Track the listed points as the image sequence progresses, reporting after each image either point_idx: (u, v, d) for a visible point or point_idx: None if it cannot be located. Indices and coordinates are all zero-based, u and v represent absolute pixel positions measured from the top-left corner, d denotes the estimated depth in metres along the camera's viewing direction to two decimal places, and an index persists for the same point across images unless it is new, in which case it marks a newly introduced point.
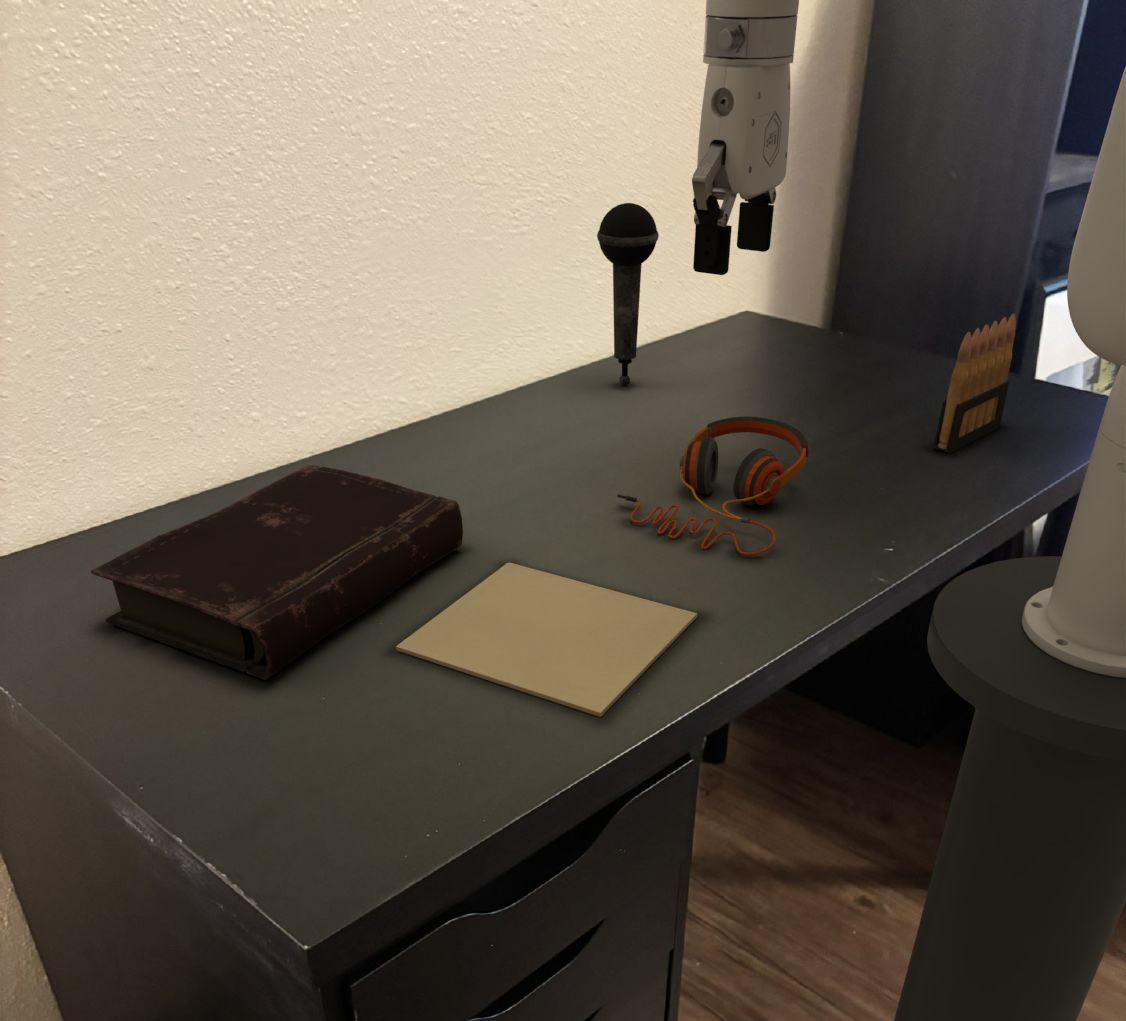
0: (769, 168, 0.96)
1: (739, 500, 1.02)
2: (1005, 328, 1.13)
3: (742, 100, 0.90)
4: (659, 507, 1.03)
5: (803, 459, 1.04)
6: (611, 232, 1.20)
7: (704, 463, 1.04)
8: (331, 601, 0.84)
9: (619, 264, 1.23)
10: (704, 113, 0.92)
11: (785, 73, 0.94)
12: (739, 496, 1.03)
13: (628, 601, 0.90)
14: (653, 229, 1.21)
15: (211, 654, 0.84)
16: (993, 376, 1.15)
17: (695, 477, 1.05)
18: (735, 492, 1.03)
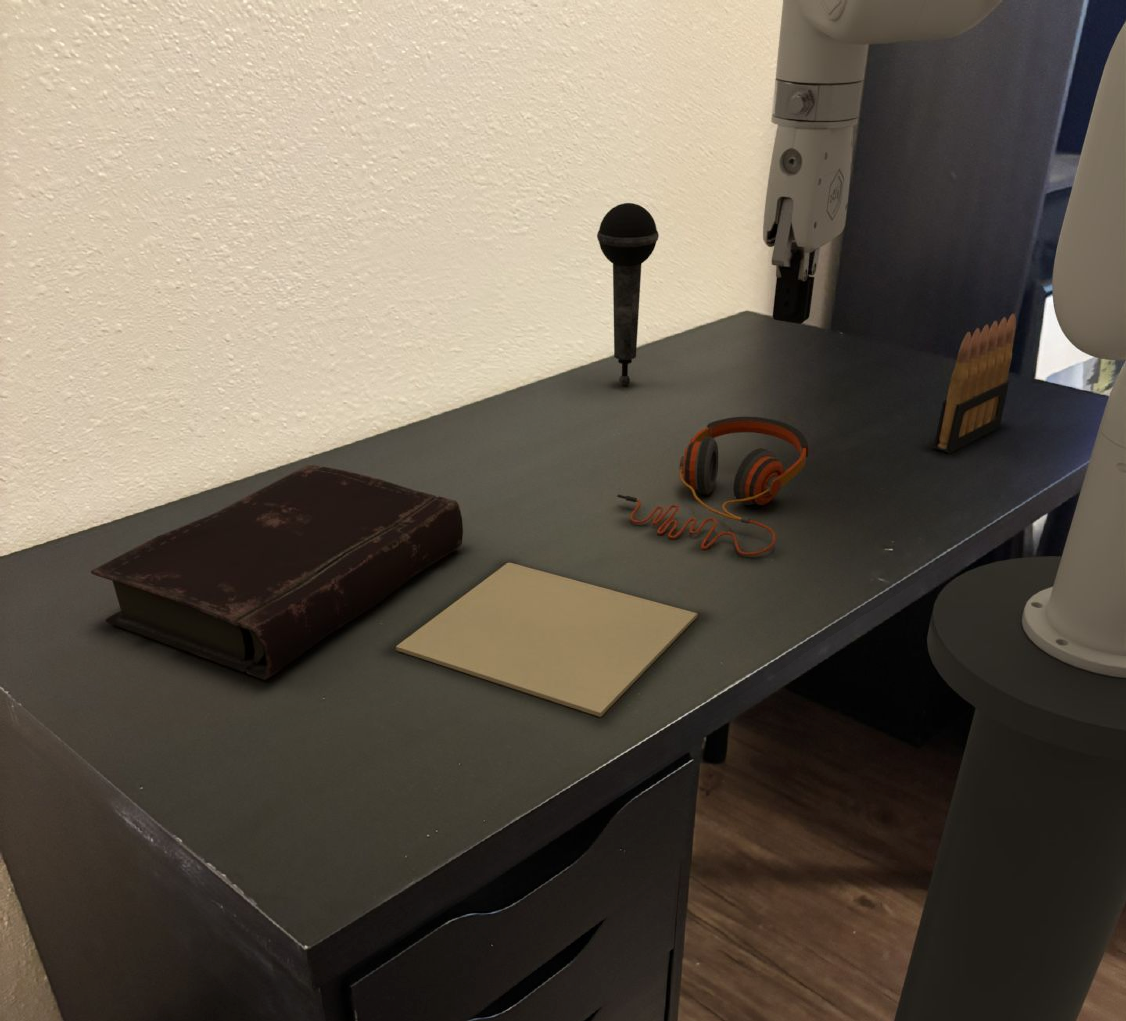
0: (831, 221, 1.01)
1: (739, 500, 1.02)
2: (1005, 328, 1.13)
3: (810, 161, 0.95)
4: (659, 507, 1.03)
5: (803, 459, 1.04)
6: (611, 232, 1.20)
7: (704, 463, 1.04)
8: (331, 601, 0.84)
9: (619, 264, 1.23)
10: (772, 171, 0.97)
11: (849, 132, 0.98)
12: (739, 496, 1.03)
13: (628, 601, 0.90)
14: (653, 229, 1.21)
15: (211, 654, 0.84)
16: (993, 376, 1.15)
17: (695, 477, 1.05)
18: (735, 492, 1.03)
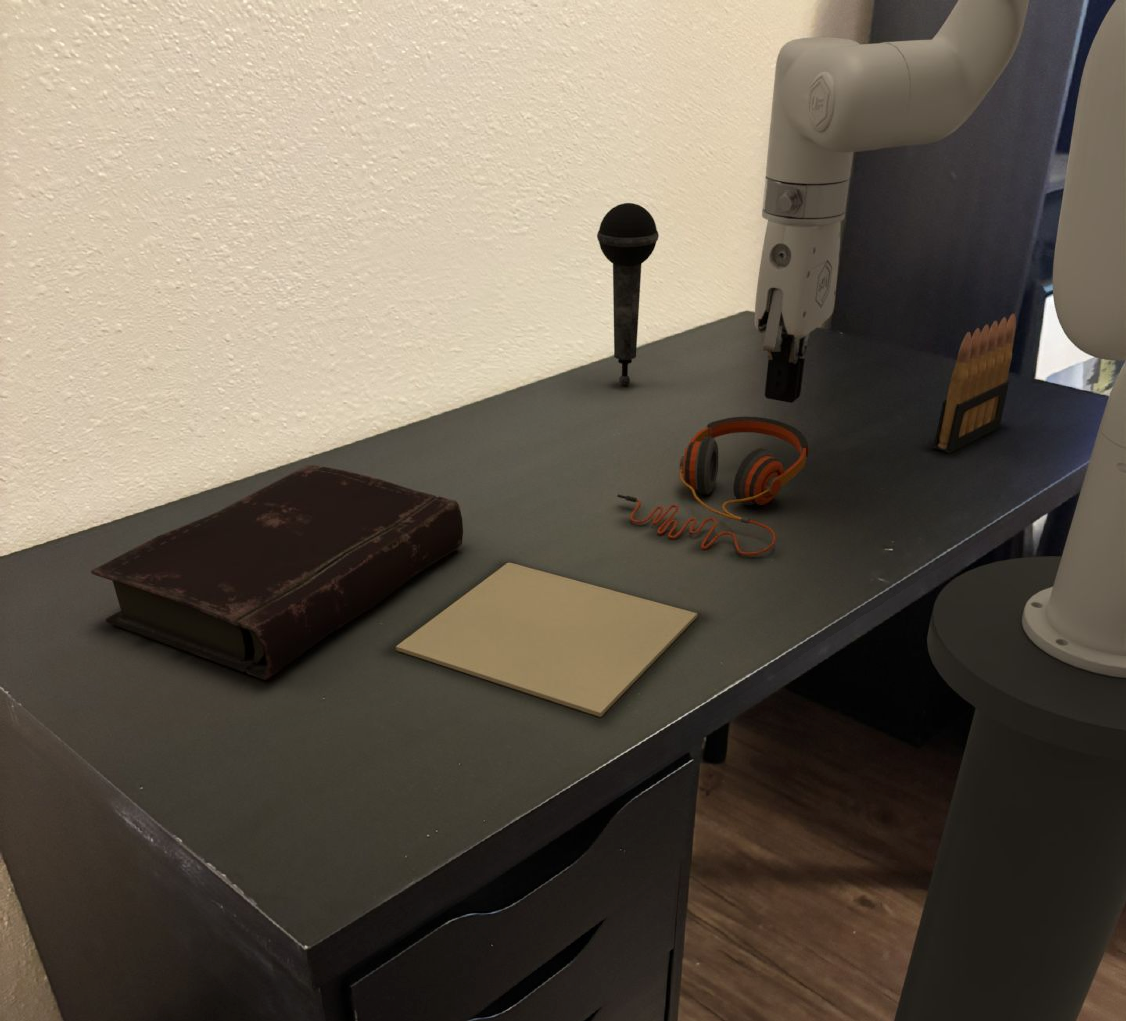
0: (820, 308, 1.05)
1: (739, 500, 1.02)
2: (1005, 328, 1.13)
3: (799, 256, 0.99)
4: (659, 507, 1.03)
5: (803, 459, 1.04)
6: (611, 232, 1.20)
7: (704, 463, 1.04)
8: (331, 601, 0.84)
9: (619, 264, 1.23)
10: (763, 264, 1.01)
11: (837, 225, 1.02)
12: (739, 496, 1.03)
13: (628, 601, 0.90)
14: (653, 229, 1.21)
15: (211, 654, 0.84)
16: (993, 376, 1.15)
17: (695, 477, 1.05)
18: (735, 492, 1.03)
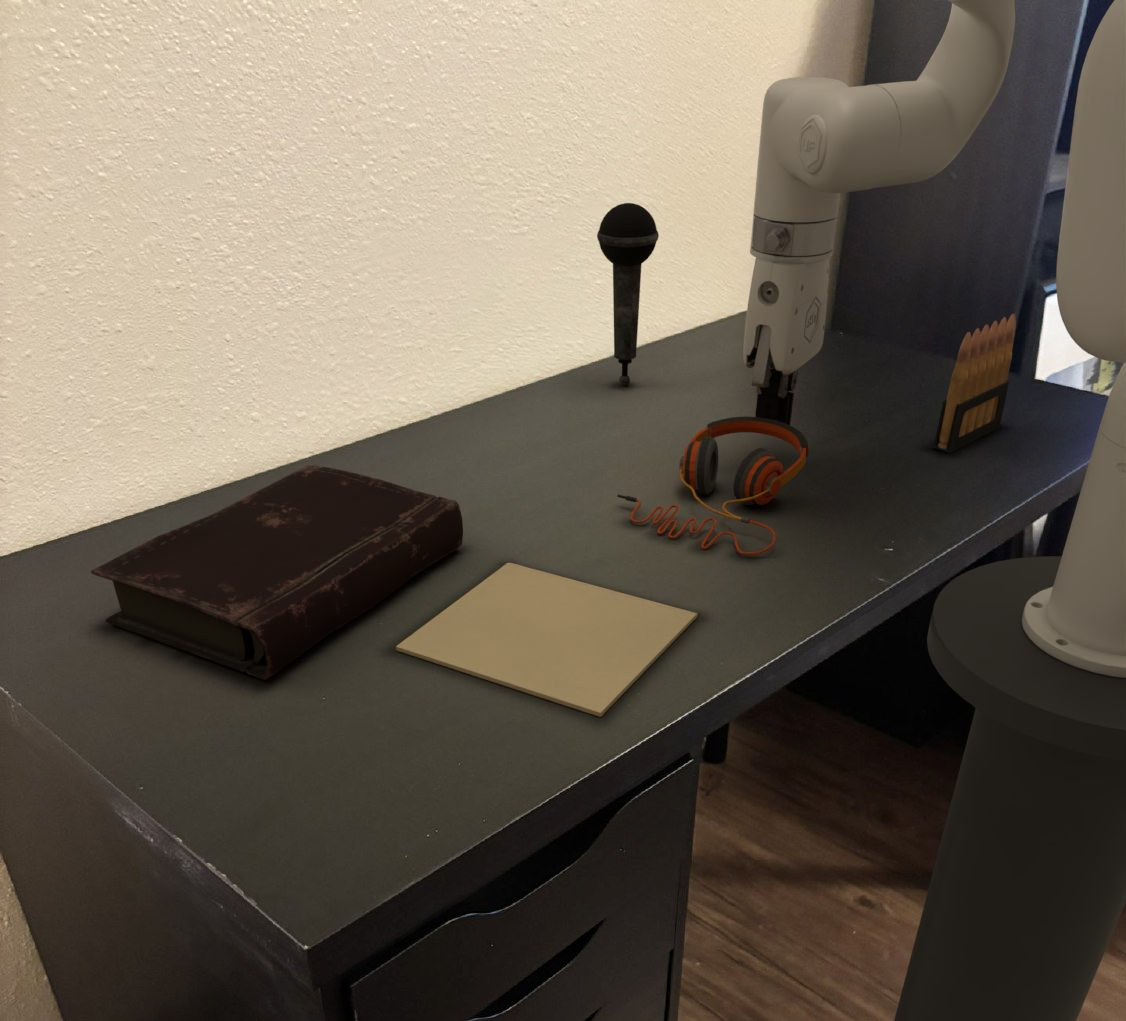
0: (809, 344, 1.05)
1: (739, 500, 1.02)
2: (1005, 328, 1.13)
3: (787, 293, 0.99)
4: (659, 507, 1.03)
5: (803, 459, 1.04)
6: (611, 232, 1.20)
7: (704, 463, 1.04)
8: (331, 601, 0.84)
9: (619, 264, 1.23)
10: (751, 301, 1.01)
11: (825, 262, 1.03)
12: (739, 496, 1.03)
13: (628, 601, 0.90)
14: (653, 229, 1.21)
15: (211, 654, 0.84)
16: (993, 376, 1.15)
17: (695, 477, 1.05)
18: (735, 492, 1.03)
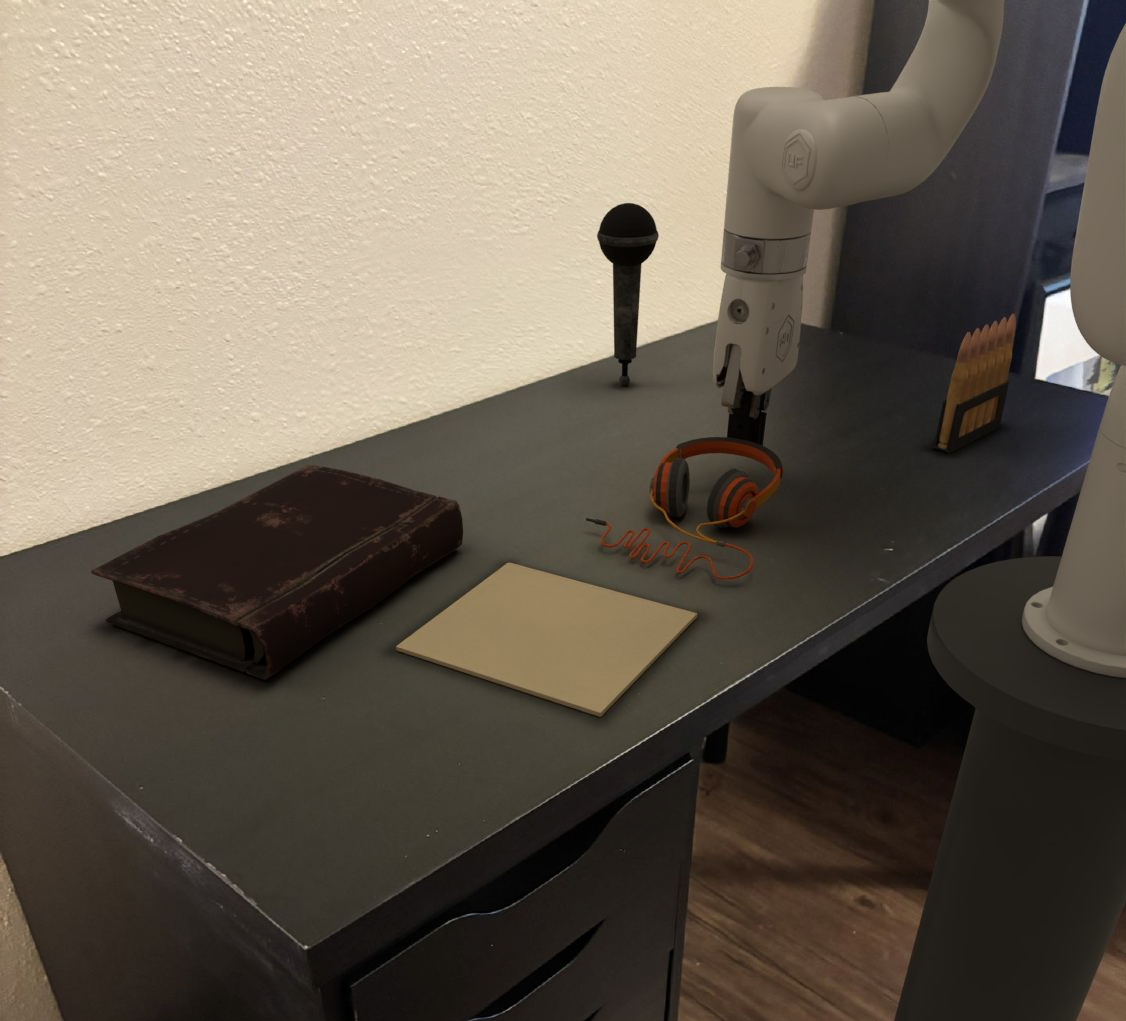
0: (781, 363, 1.01)
1: (713, 523, 0.98)
2: (1005, 328, 1.13)
3: (757, 312, 0.95)
4: (630, 531, 0.98)
5: (778, 480, 1.01)
6: (611, 232, 1.20)
7: (676, 485, 1.00)
8: (331, 601, 0.84)
9: (619, 264, 1.23)
10: (721, 318, 0.97)
11: (798, 278, 0.99)
12: (713, 518, 0.99)
13: (628, 601, 0.90)
14: (653, 229, 1.21)
15: (211, 654, 0.84)
16: (993, 376, 1.15)
17: (666, 499, 1.01)
18: (709, 514, 0.99)
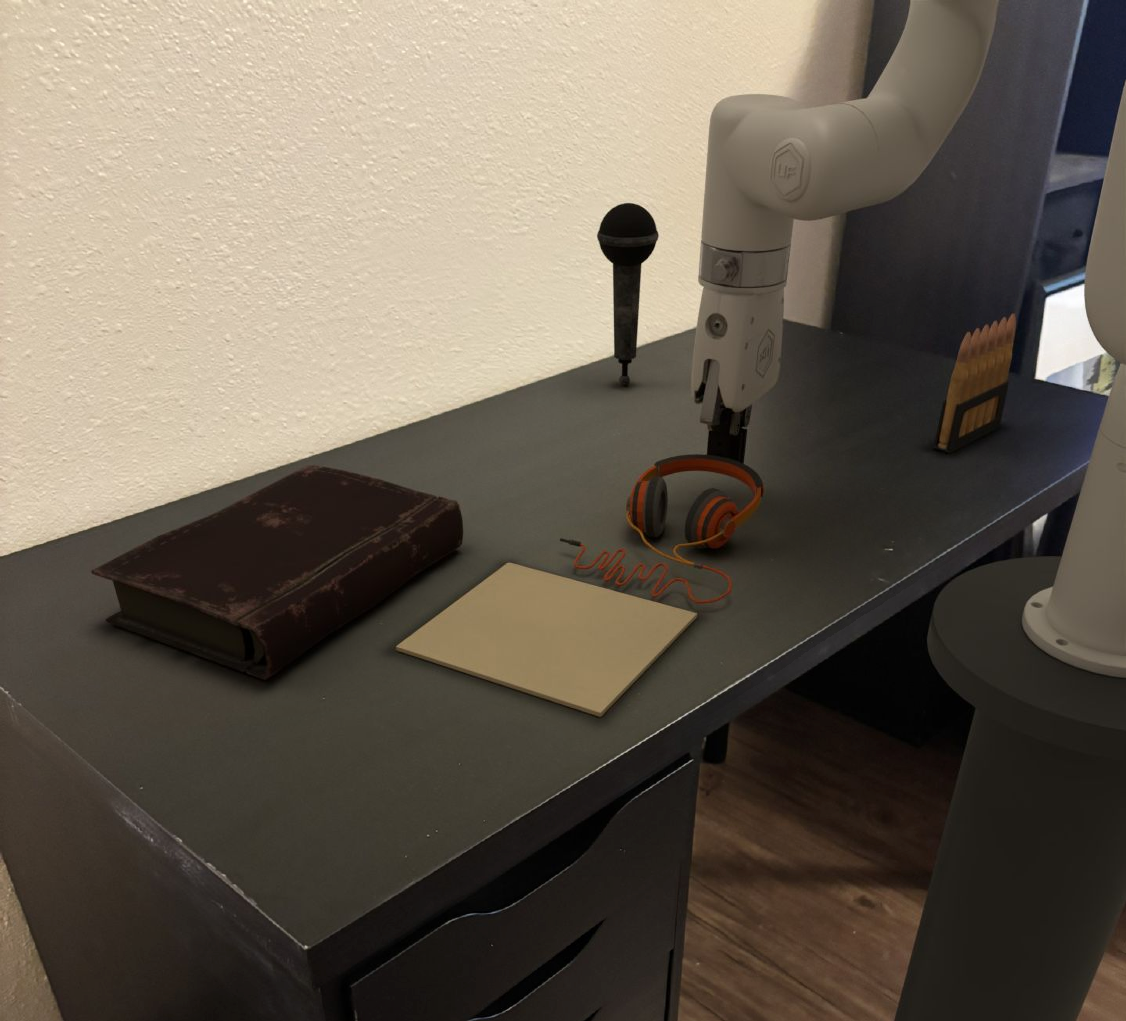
0: (762, 379, 0.98)
1: (691, 544, 0.94)
2: (1005, 328, 1.13)
3: (736, 327, 0.92)
4: (605, 552, 0.95)
5: (758, 499, 0.97)
6: (611, 232, 1.20)
7: (653, 504, 0.96)
8: (331, 601, 0.84)
9: (619, 264, 1.23)
10: (698, 333, 0.94)
11: (779, 291, 0.96)
12: (691, 539, 0.96)
13: (628, 601, 0.90)
14: (653, 229, 1.21)
15: (211, 654, 0.84)
16: (993, 376, 1.15)
17: (643, 519, 0.97)
18: (686, 535, 0.96)
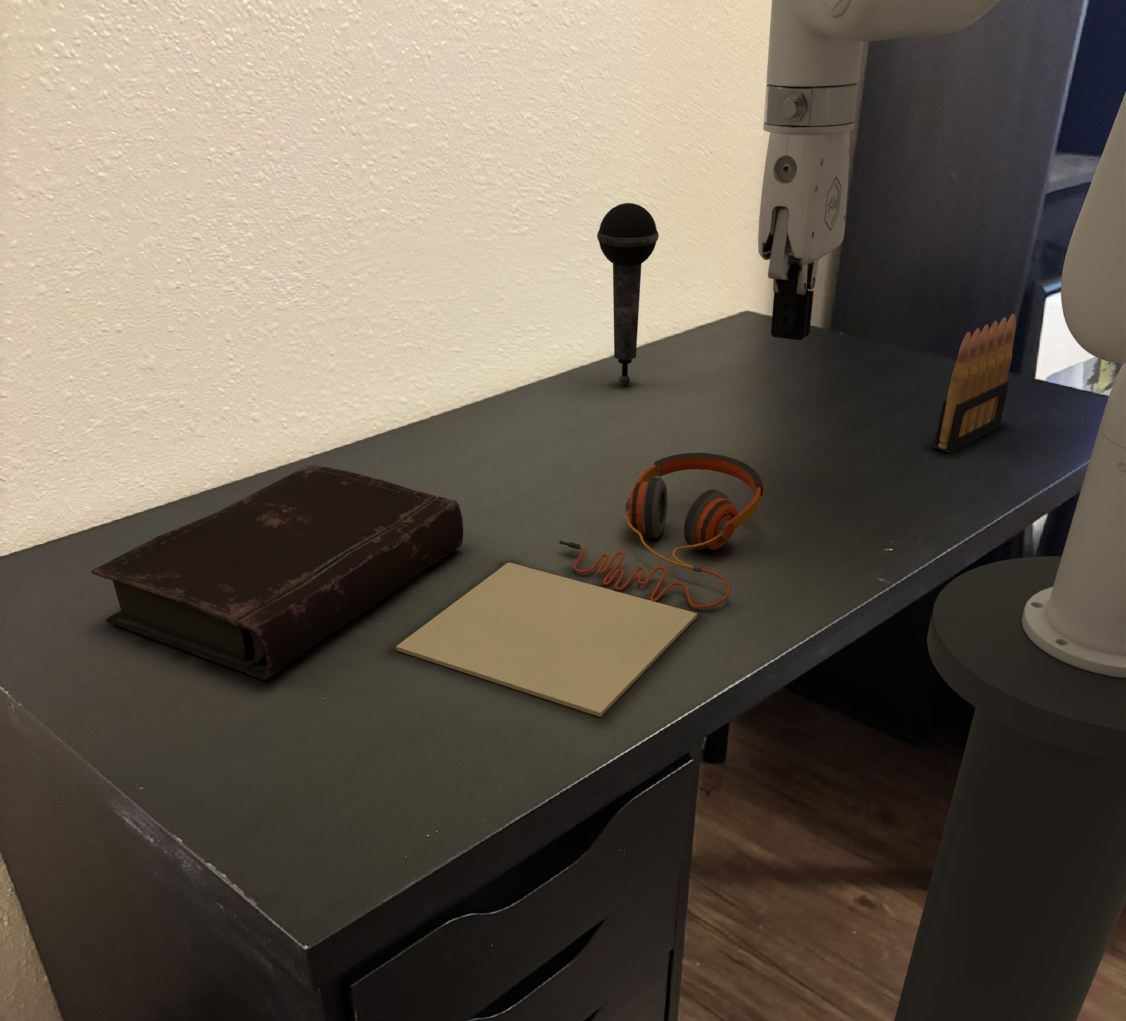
0: (830, 232, 0.96)
1: (690, 546, 0.94)
2: (1005, 328, 1.13)
3: (806, 168, 0.90)
4: (604, 555, 0.95)
5: (758, 499, 0.97)
6: (611, 232, 1.20)
7: (652, 506, 0.96)
8: (331, 601, 0.84)
9: (619, 264, 1.23)
10: (766, 180, 0.92)
11: (845, 139, 0.94)
12: (690, 541, 0.96)
13: (628, 601, 0.90)
14: (653, 229, 1.21)
15: (211, 655, 0.84)
16: (993, 376, 1.15)
17: (642, 521, 0.97)
18: (686, 537, 0.96)
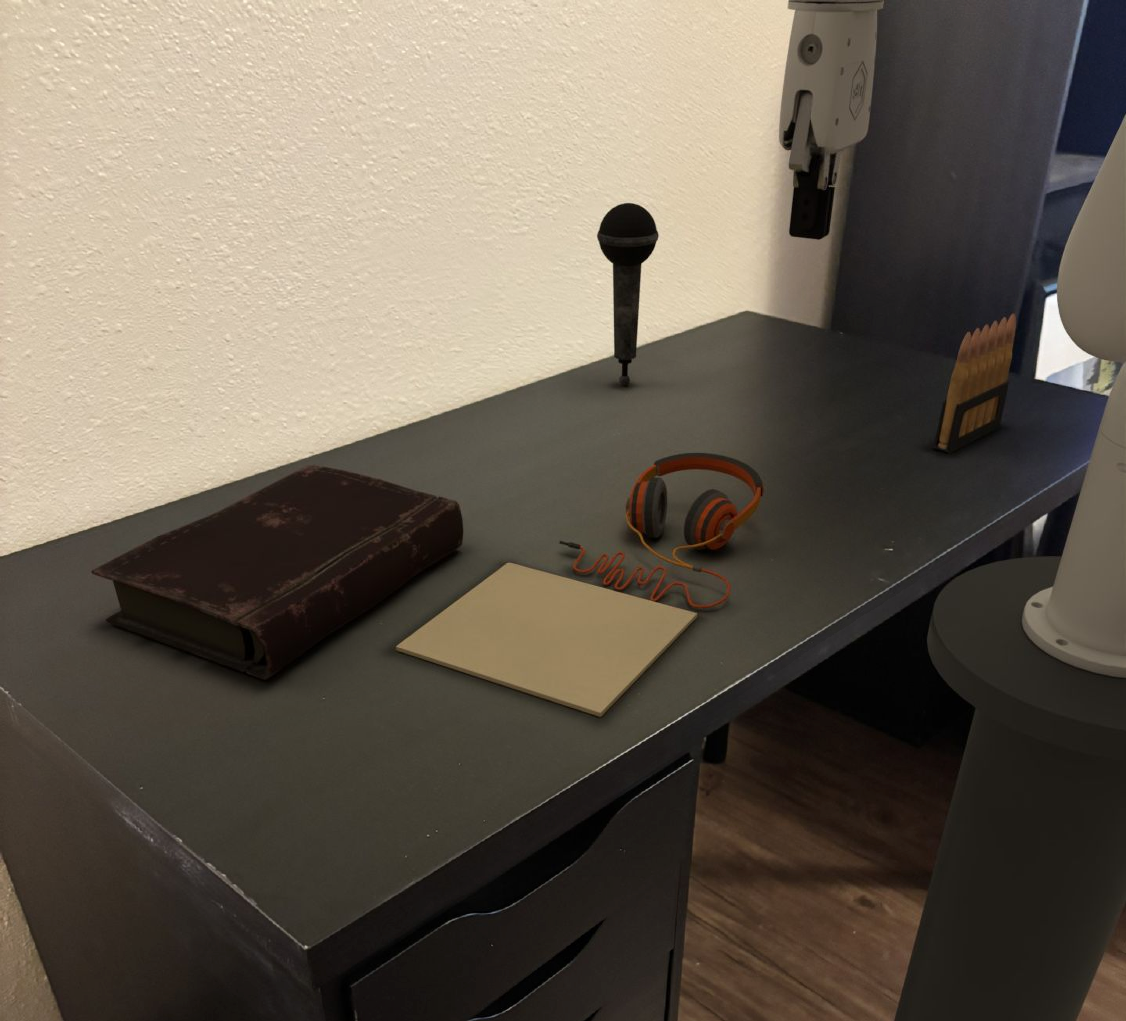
0: (854, 122, 0.92)
1: (690, 546, 0.94)
2: (1005, 328, 1.13)
3: (832, 47, 0.86)
4: (604, 555, 0.95)
5: (758, 499, 0.97)
6: (611, 232, 1.20)
7: (652, 506, 0.96)
8: (331, 601, 0.84)
9: (619, 264, 1.23)
10: (789, 62, 0.88)
11: (873, 21, 0.89)
12: (690, 541, 0.96)
13: (628, 601, 0.90)
14: (653, 229, 1.21)
15: (211, 655, 0.84)
16: (993, 376, 1.15)
17: (642, 521, 0.97)
18: (686, 537, 0.96)
